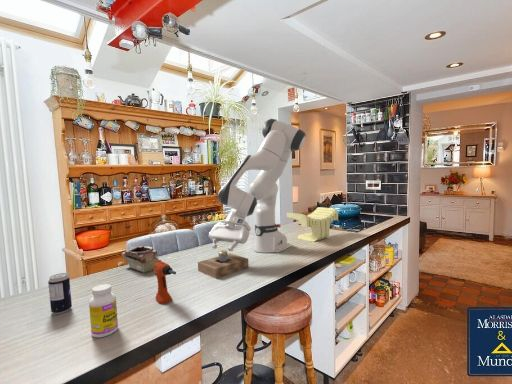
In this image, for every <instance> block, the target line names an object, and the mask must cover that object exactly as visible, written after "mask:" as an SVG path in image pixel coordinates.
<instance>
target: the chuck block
mask: <svg viewBox="0 0 512 384" xmlns="http://www.w3.org/2000/svg"><path fill="white" fill-rule="evenodd" d="M227 255H228V262H225V263H219V255H218V256H215V257H212V258H207V259H204V260H201V261H198V262H197V269H198V270H197V271H198V272H200V273H203V274H204V275H207V276H208V277H211V278H213V279H218V278H221V277H222V278H223V277H224V276H227V275H230V274H233V273H236V272H238V271H243V270H246V269H248V268H249V267H250V266H249V258H247V257H244V256H241V255H238V254H233V253H230V252H229V253H227Z"/></svg>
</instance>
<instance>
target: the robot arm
mask: <svg viewBox="0 0 512 384" xmlns="http://www.w3.org/2000/svg"><path fill="white" fill-rule="evenodd" d="M261 132H262V133H261V134H262V136H263V138H264V139H263V140H262V142H261V143H260V145H259V147H258V149H257V151H256V152H254V153H253V154H249V155H247V156H246V157H245V158H243V160H242V161H241V163H240V164H239V165H238V166H237V168H236V169H235V171H234V172H233V173H232V174H231V176H230V178H229V179H228V180H227V182H226V183H224V185H222V186H221V188H220V189H219V191H218V192H217V200H218V203H220V204H221V205H223V206H226V207H230V211H229V212H228V213H227V216H226V218H225V219H224V221H223V222H218V223H216V224H214V226H213V227H212V229H211V230H210V231H209V233H208V237H209V239H210V240H212V245H211V248H212V249H214V250H216V249H217V247H218V245H217V243H218V242H222V243H223V242H226V243H232V244H231V245H228V248H227V249H228V251H229V252H234V251H233V250H234V249H235V248H236V247H238V245H239V244H240V245H241V244H243V245H244V244H246V243H247V241H248V239H249V236H250V232H251V230H252V229H251V226H250V225H249V223H248V222H247V221H246V218H247V217H249V216H252V215H253V214H255V215H254V217H255V218H254V219H255V221H254V223H255V224H254V232H255V235H254V236H255V239H254V245H253V246H254V247H253V251H255V252H257V253H261V254H263V253H267V254H269V253H280V252H282V251H284V250H287V249H288V248H291V247H292V244H291V243H289V242H288V240H287V239H288V238H287V236H286V235H285V234H284V233H282V232H281V231H280V230H279V229H280V228H281V227H282V225H281V223H276V203H277V195H278V191H279V185H278V183H277V181H278V180H279V179H280V177H281V176H282V174H283V173H284V170H285V167H287V163H288V161H289V159H290V156H291V153H292V152H295V151H296V152H297V151H299V150H301V148H302V147H304V144H305V142H306V137H307V136H306V133H305V131H304V130H302V129H300V128H297V127H296V126H294V125H292V124H290V123H286V122H283V121H279V120H277V119H276V118H269V119H267V120H266V121H265V123H264V124H263V127H262V130H261ZM247 171H259V172H258V174H257V175H256V177H255V178H254V180H253V181H252V182H251V184H250V185H249V186H248V188H247V191H245V190H243V189H241V188H239V187H237V186H236V185H237V183H238V182H239V180H240V179H241V178H242V176H243V175H244V174H245V173H246V172H247ZM278 228H279V229H278Z"/></svg>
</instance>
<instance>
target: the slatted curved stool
mask: <svg viewBox="0 0 512 384" xmlns="http://www.w3.org/2000/svg"><path fill="white" fill-rule="evenodd" d="M286 217H287V218H290V219H293V220H297V221H298V222H299V223H300V225H301V226H300V227H302V228H309V227H310V229H311V232H307V233H306V232H305V233H302V234H298V235H297V239H299V240H303V241H309V242H316V241H320V240H322V239H324V240H325V239H327V238H329V236H330V228H331V223H332V222H334V221H339V213H338V210H337V209H336V208H334V207H333V208H331V207H330V208H329V207H322V206H320V207H316V209H315V210H314V211H312V212H311V213H309V214H307V215H306V214H304V213H303V214H302V213H294V212H286Z"/></svg>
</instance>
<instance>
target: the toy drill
mask: <svg viewBox="0 0 512 384" xmlns="http://www.w3.org/2000/svg"><path fill="white" fill-rule="evenodd" d="M153 274H154V275H155V276H156V278H157V293H156V294H155V300H156V302H157V303H158V304H159V305H160V304H161V305H166V304H168V303H171V302H172V301H173V298H172V296H171V294H170V293H169V292H168V285H167V277H166V276H167V275H169V276H170V275H176V274H177V272H176V271H175V270H173V268H172V267H171V265H170V264H169V263H166V262H164V261H162V260H161V259H159V260H158V261H157V262H156V263H155V265H154V269H153Z"/></svg>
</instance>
